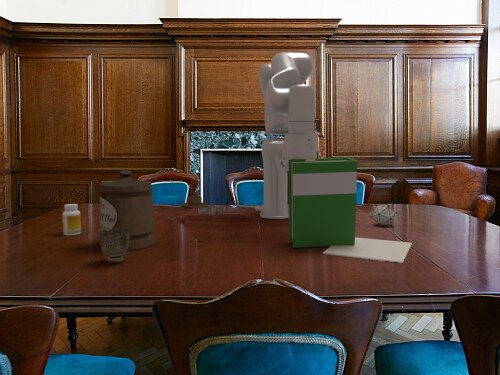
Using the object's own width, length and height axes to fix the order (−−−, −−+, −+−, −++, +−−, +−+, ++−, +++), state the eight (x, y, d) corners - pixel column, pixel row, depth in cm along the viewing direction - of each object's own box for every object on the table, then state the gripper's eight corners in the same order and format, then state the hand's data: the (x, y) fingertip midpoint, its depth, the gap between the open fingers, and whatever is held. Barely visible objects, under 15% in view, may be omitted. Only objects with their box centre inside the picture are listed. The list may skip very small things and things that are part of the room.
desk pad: (322, 253, 109) (322, 252, 109) (343, 237, 128) (343, 236, 128) (402, 263, 100) (402, 261, 100) (411, 244, 119) (412, 242, 119)
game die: (388, 236, 146) (400, 217, 139) (365, 227, 147) (376, 208, 141) (390, 221, 153) (402, 201, 146) (368, 212, 154) (379, 192, 147)
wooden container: (99, 241, 124) (96, 168, 122) (149, 237, 130) (147, 167, 127) (103, 253, 110) (99, 171, 108) (158, 247, 116) (156, 170, 114)
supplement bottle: (84, 232, 136) (83, 203, 135) (73, 236, 131) (71, 206, 130) (71, 231, 138) (70, 203, 137) (59, 235, 133) (58, 205, 132)
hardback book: (293, 247, 115) (292, 163, 111) (289, 239, 123) (288, 159, 118) (354, 244, 117) (357, 160, 112) (347, 236, 124) (348, 157, 119)
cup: (104, 258, 106) (103, 227, 105) (133, 257, 106) (132, 226, 105) (96, 266, 98) (94, 233, 97) (127, 265, 99) (126, 233, 98)
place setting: (171, 207, 194) (171, 195, 193) (194, 202, 212) (194, 191, 211) (202, 210, 186) (202, 197, 186) (224, 204, 204) (224, 193, 204)
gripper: (272, 128, 120) (272, 190, 122) (322, 127, 113) (321, 193, 115) (282, 129, 127) (282, 188, 128) (330, 128, 120) (329, 190, 122)
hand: (300, 190), depth 122 cm, fingers closed
